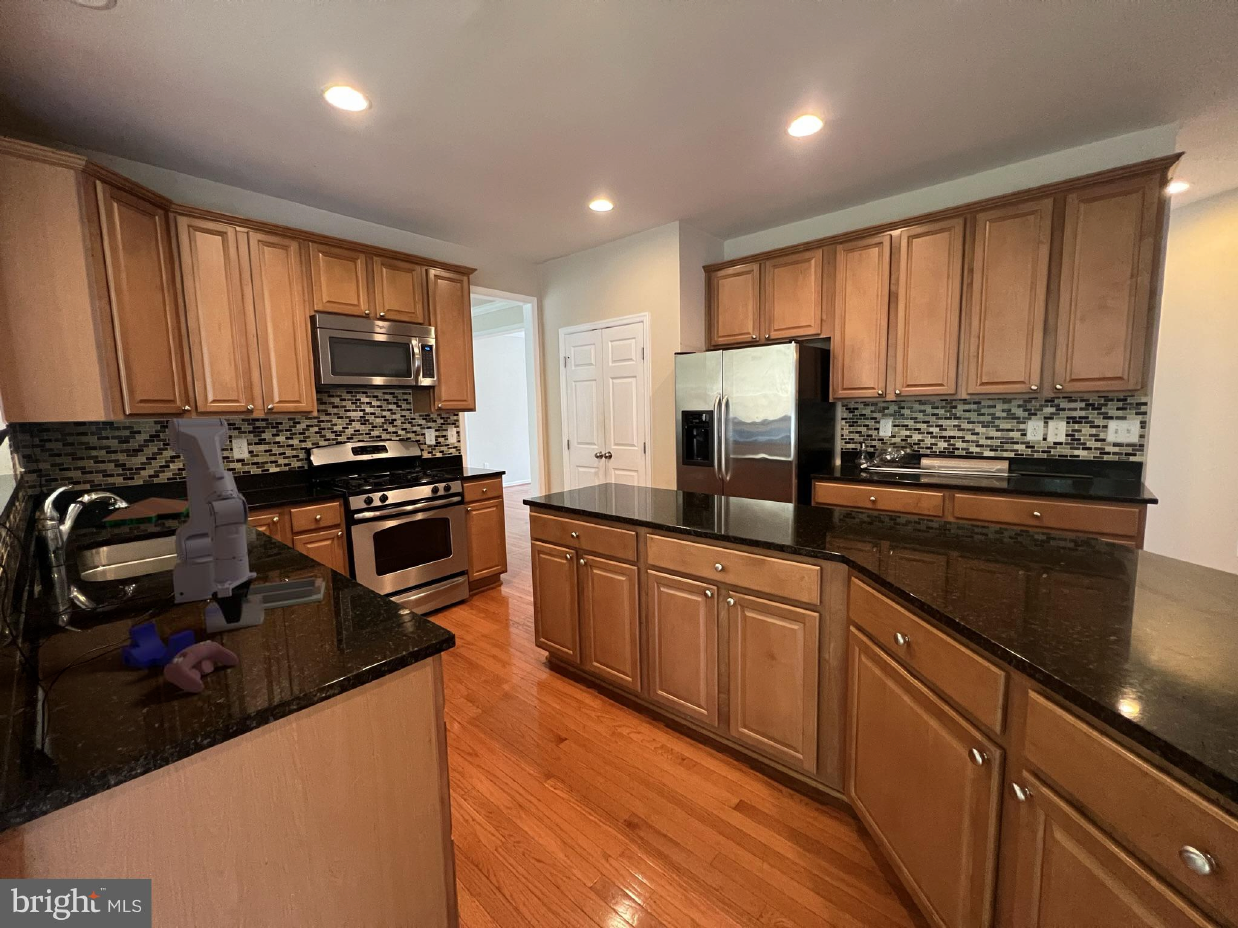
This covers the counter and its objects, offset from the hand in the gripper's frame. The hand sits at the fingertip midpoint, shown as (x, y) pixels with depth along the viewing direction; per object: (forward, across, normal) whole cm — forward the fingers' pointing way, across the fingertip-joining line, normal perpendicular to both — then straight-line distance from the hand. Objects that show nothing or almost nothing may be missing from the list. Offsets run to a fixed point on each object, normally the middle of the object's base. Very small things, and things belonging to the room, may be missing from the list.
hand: (236, 618), depth 104 cm
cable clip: (+2, -13, +9) cm, 16 cm away
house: (+2, +145, +55) cm, 155 cm away
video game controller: (+2, -23, 0) cm, 23 cm away
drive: (+1, 0, 0) cm, 1 cm away
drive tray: (+1, +13, -6) cm, 14 cm away
